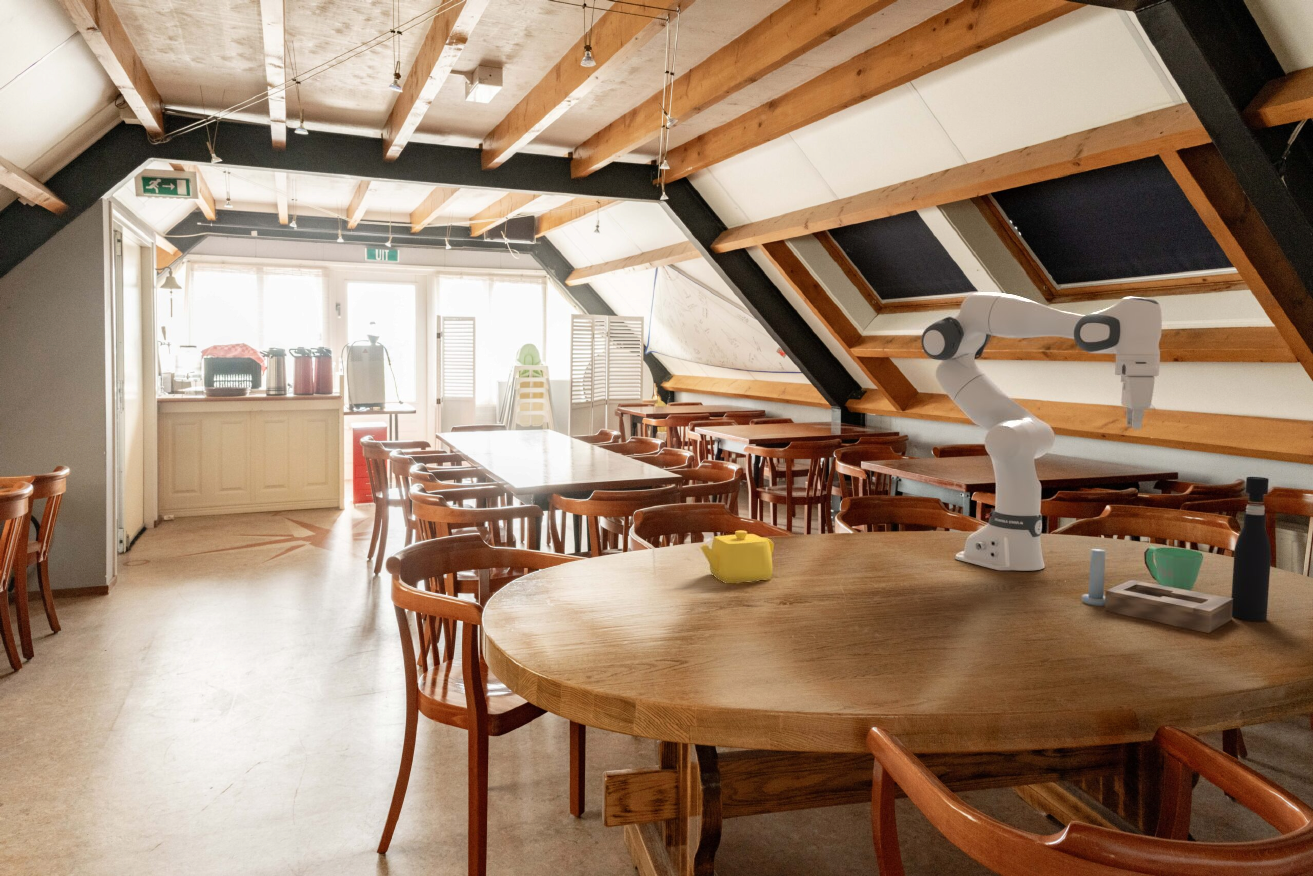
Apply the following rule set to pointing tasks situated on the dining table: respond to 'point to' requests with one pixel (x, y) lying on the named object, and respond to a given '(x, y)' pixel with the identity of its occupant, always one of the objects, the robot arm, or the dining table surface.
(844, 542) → the dining table surface
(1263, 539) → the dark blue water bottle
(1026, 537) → the robot arm
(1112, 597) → the keyhole board
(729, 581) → the teapot
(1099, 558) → the peg
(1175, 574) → the mug
